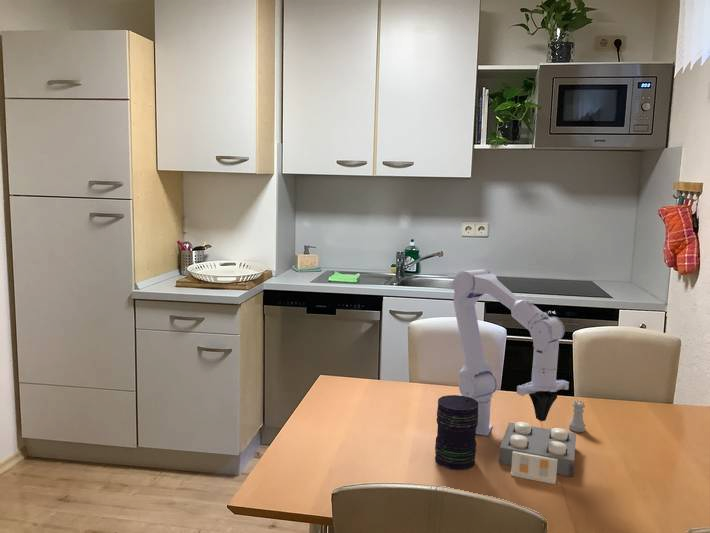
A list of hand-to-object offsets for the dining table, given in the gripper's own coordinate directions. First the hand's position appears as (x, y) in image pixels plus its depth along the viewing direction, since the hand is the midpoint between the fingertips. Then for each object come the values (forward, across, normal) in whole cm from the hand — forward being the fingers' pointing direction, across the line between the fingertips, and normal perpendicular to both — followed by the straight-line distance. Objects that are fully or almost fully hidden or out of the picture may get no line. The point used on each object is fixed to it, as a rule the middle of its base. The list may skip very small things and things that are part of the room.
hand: (540, 419), depth 152 cm
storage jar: (+10, -22, +5) cm, 24 cm away
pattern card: (+9, -9, -9) cm, 16 cm away
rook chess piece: (+10, +22, +10) cm, 25 cm away
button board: (+9, 0, 0) cm, 9 cm away
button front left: (+7, -6, 0) cm, 10 cm away
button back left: (+7, 0, +6) cm, 10 cm away
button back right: (+7, +6, 0) cm, 10 cm away
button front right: (+7, 0, -6) cm, 10 cm away
